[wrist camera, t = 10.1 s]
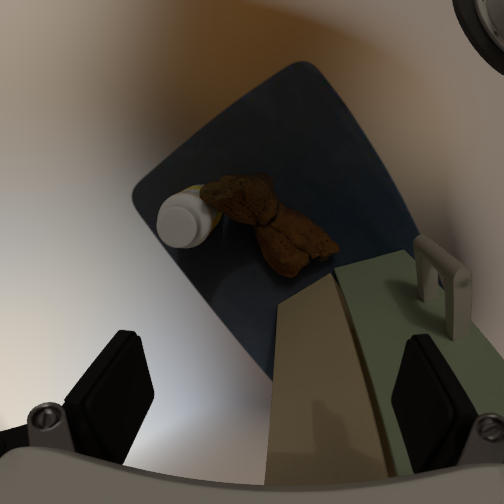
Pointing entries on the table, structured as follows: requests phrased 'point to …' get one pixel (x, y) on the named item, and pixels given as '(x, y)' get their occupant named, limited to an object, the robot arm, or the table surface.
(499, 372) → the cabinet door
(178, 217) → the supplement bottle
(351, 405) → the cabinet
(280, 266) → the sculpture
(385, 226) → the table surface
